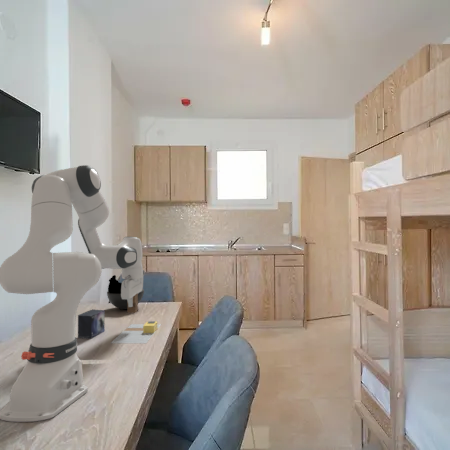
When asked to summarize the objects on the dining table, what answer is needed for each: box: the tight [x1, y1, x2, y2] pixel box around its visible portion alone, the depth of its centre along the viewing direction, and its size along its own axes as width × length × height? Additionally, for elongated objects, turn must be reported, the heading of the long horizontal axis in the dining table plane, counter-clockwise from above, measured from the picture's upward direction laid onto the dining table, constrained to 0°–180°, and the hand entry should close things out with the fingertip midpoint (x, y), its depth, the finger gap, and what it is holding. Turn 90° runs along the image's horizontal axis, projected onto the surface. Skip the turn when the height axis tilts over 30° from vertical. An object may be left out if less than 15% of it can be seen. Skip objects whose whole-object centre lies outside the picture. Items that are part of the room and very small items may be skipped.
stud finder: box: [143, 320, 158, 334], centre depth 152 cm, size 7×4×3 cm, turn 179°
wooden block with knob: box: [126, 293, 139, 314], centre depth 154 cm, size 4×4×10 cm
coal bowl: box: [106, 274, 145, 310], centre depth 197 cm, size 20×20×19 cm
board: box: [110, 323, 162, 344], centre depth 148 cm, size 26×14×1 cm, turn 177°
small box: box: [77, 309, 106, 340], centre depth 147 cm, size 11×6×10 cm, turn 168°
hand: (132, 305), depth 154 cm, fingers closed on wooden block with knob, 3 cm apart
